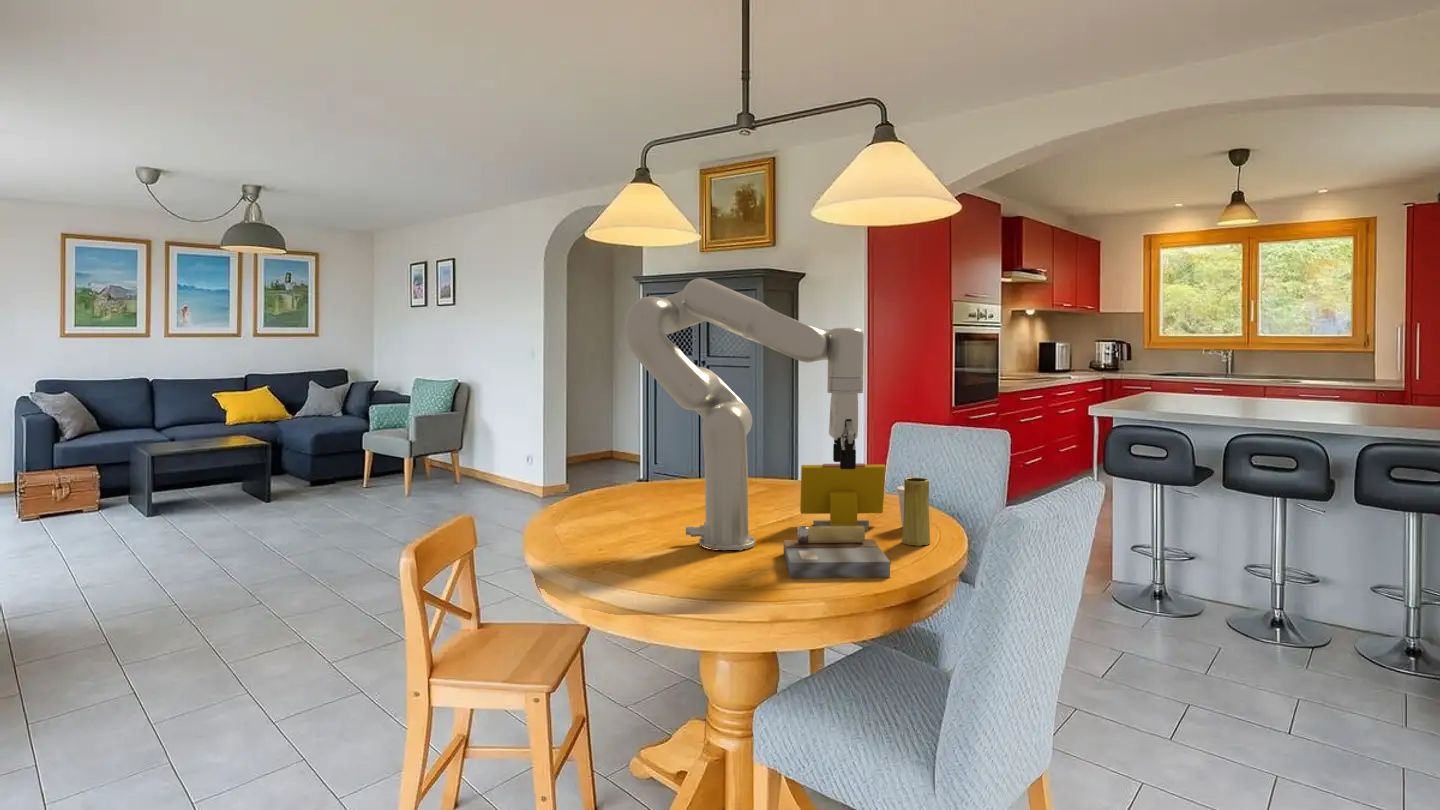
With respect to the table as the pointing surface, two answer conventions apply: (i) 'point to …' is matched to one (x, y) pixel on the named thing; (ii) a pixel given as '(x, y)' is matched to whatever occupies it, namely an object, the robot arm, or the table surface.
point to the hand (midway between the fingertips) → (844, 465)
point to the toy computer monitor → (842, 492)
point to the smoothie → (902, 498)
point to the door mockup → (835, 559)
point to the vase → (916, 512)
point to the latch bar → (830, 534)
